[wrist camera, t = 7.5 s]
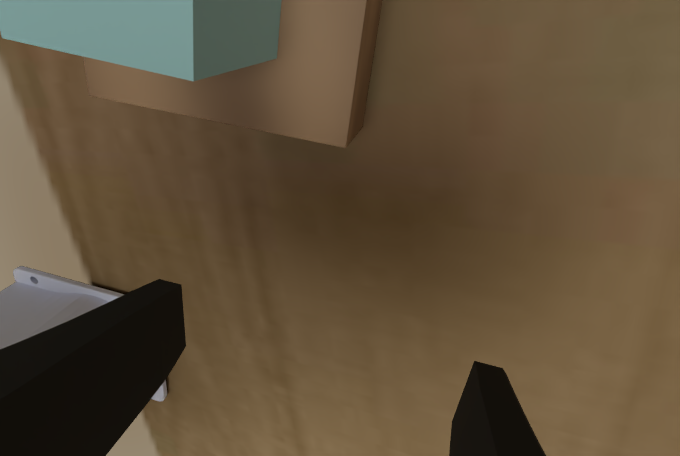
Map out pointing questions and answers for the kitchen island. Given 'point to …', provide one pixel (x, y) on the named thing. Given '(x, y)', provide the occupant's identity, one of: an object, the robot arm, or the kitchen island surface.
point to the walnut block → (273, 77)
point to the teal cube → (151, 32)
